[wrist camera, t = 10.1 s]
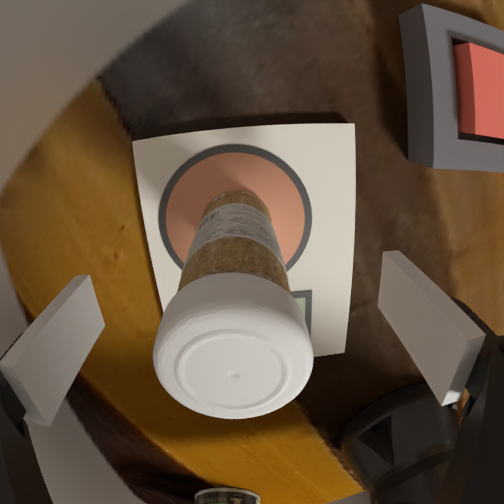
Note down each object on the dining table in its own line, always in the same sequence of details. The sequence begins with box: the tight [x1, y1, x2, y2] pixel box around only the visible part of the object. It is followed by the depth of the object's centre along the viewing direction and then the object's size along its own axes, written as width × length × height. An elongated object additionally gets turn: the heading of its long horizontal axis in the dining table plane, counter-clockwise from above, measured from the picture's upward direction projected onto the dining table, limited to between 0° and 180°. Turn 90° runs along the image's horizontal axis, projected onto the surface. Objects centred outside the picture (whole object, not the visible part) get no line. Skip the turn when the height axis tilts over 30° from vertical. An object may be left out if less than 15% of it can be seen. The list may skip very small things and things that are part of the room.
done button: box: [452, 43, 504, 139], centre depth 15 cm, size 6×6×3 cm
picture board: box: [132, 123, 356, 357], centre depth 22 cm, size 18×14×1 cm
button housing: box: [398, 3, 504, 173], centre depth 17 cm, size 11×11×4 cm
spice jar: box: [153, 190, 313, 419], centre depth 14 cm, size 5×5×14 cm
